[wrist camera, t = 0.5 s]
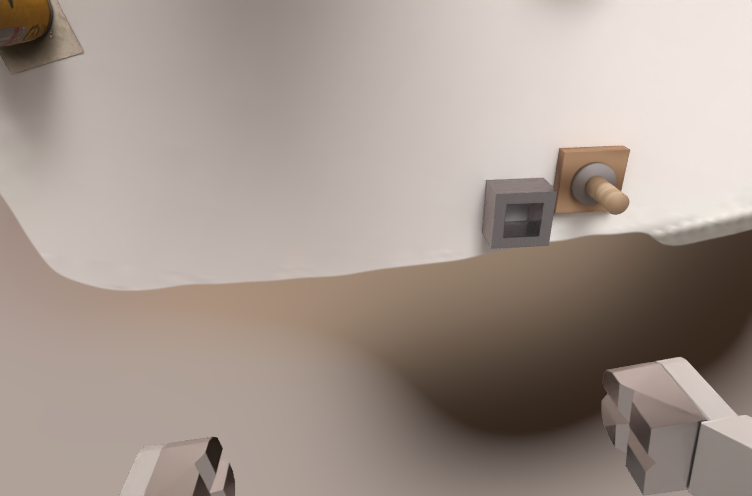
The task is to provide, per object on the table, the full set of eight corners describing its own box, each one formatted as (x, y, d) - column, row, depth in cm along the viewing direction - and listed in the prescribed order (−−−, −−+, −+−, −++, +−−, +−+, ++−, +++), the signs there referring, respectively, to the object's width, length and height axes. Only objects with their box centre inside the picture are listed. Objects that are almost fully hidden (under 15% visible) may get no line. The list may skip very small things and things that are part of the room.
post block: (559, 148, 55) (589, 172, 48) (623, 145, 55) (661, 168, 48) (550, 207, 58) (577, 237, 51) (610, 205, 58) (644, 234, 52)
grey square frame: (486, 180, 56) (496, 194, 52) (543, 177, 56) (557, 191, 53) (482, 232, 59) (490, 248, 55) (536, 229, 59) (548, 245, 56)
